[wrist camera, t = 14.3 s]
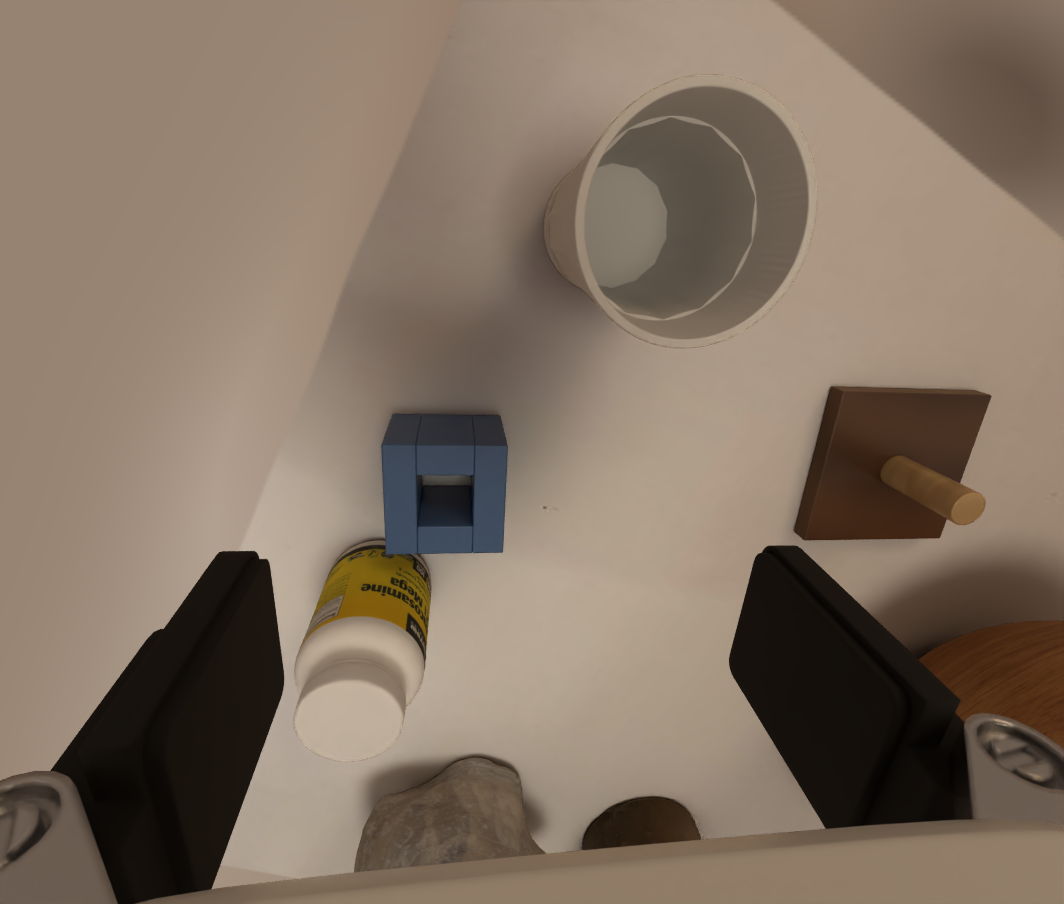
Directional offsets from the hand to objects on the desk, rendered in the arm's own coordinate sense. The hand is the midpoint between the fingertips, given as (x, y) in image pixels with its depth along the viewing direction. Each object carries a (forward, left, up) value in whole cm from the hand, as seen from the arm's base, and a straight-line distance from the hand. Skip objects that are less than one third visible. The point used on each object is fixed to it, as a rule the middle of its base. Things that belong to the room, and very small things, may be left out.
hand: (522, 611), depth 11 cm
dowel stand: (+5, +26, -21) cm, 34 cm away
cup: (-8, +6, -22) cm, 24 cm away
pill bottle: (+13, -6, -22) cm, 26 cm away
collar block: (+6, -2, -21) cm, 22 cm away
